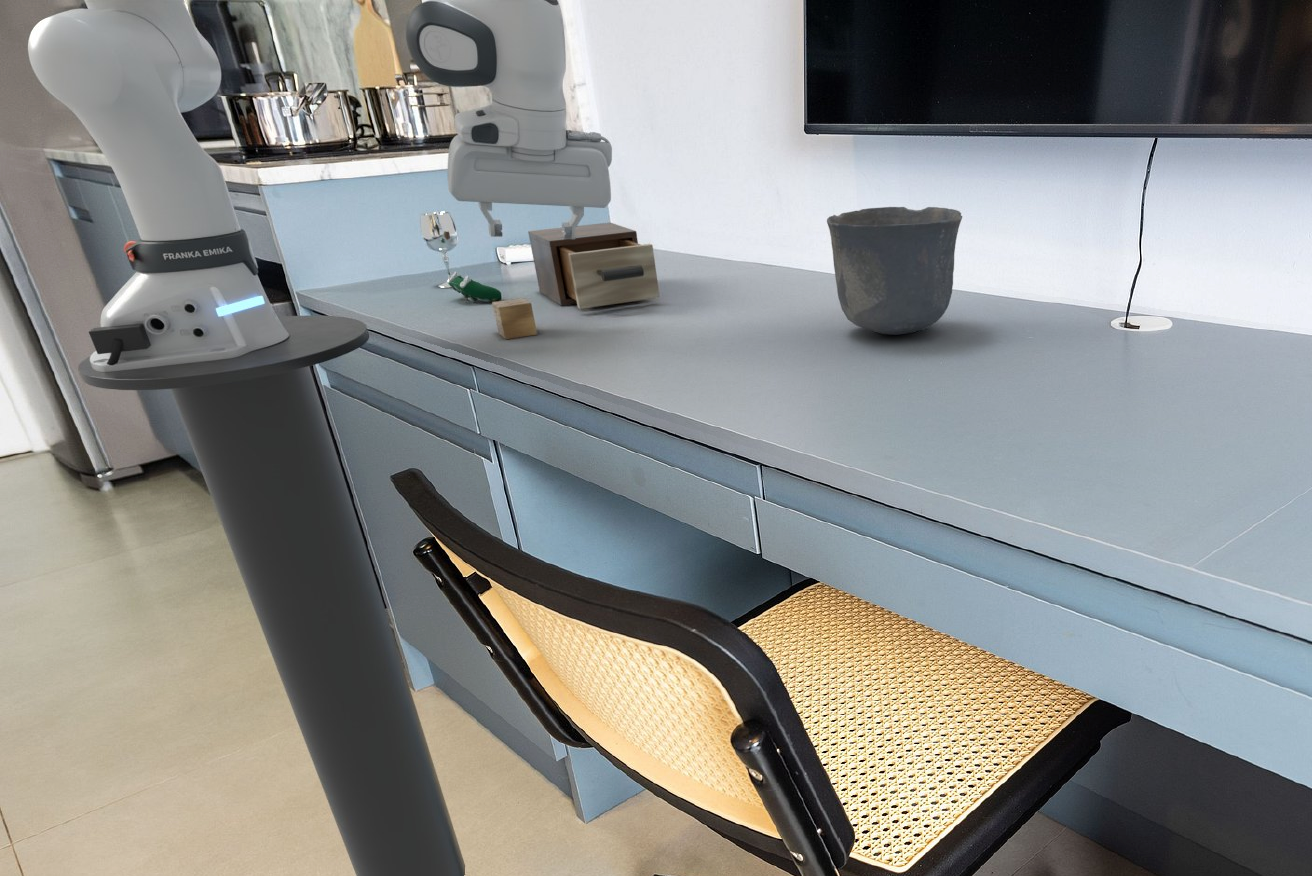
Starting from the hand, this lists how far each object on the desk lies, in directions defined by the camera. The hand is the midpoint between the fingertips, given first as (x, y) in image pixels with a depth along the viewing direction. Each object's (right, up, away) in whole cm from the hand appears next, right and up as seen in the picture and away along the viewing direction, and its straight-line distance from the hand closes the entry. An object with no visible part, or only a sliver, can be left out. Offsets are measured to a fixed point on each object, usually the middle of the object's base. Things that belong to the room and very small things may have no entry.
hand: (532, 236), depth 135 cm
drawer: (+5, -2, +21) cm, 22 cm away
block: (-4, -11, +7) cm, 14 cm away
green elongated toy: (-20, 0, +30) cm, 36 cm away
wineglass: (-29, +6, +42) cm, 52 cm away
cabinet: (-1, +2, +31) cm, 31 cm away
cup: (+49, -14, -2) cm, 51 cm away
